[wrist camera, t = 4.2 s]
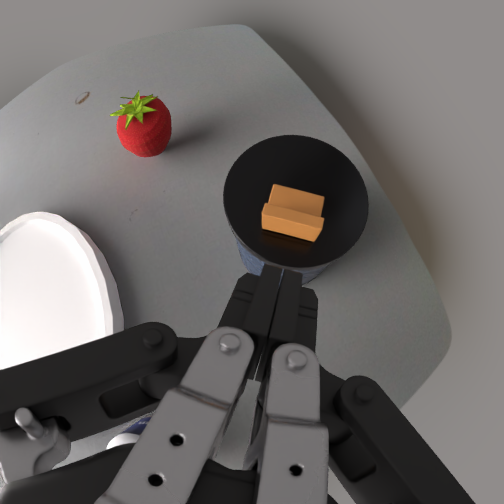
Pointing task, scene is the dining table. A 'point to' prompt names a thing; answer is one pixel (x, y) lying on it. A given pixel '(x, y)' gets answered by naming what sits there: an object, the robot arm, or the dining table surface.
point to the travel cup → (301, 178)
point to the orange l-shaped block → (293, 213)
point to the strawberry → (144, 125)
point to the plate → (52, 289)
